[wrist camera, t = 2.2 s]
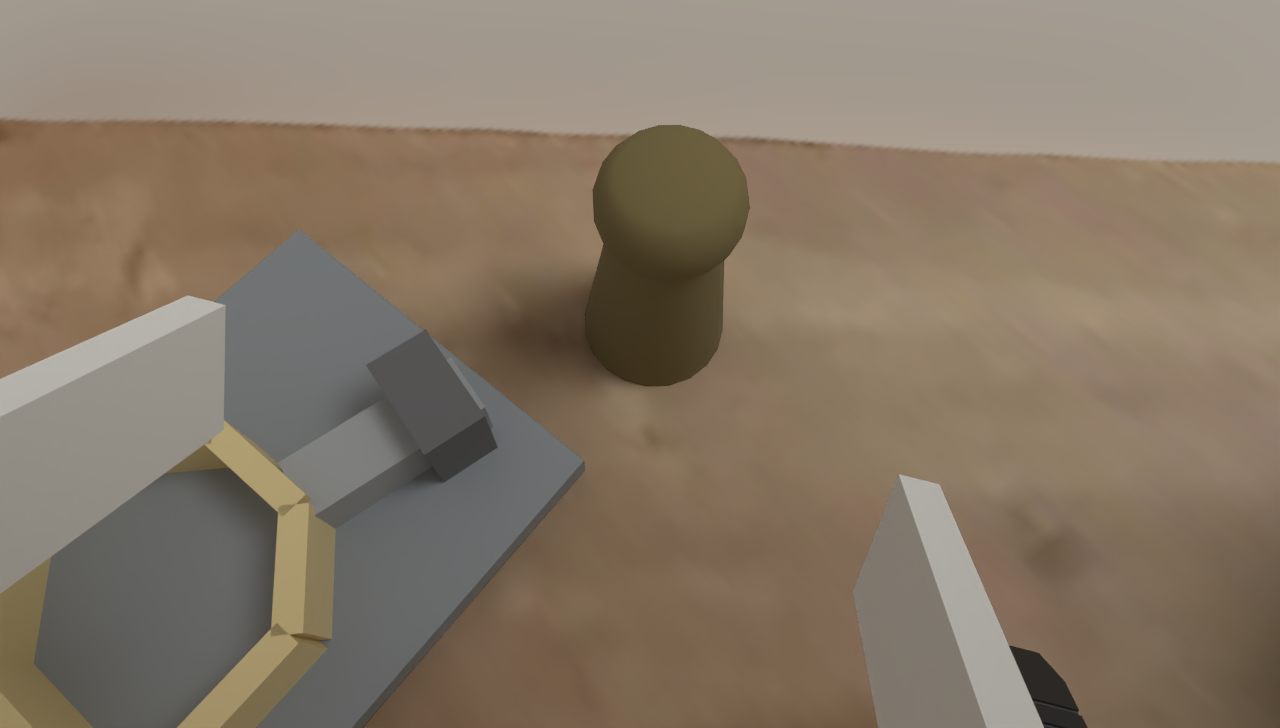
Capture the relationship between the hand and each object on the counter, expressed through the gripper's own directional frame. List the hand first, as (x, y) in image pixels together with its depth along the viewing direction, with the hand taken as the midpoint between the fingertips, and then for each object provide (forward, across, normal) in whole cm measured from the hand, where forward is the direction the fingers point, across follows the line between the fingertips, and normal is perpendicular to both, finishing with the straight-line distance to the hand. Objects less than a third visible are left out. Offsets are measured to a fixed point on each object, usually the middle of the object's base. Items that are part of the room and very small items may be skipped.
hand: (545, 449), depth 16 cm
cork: (+20, +1, -4) cm, 21 cm away
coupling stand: (+9, -13, -15) cm, 22 cm away
